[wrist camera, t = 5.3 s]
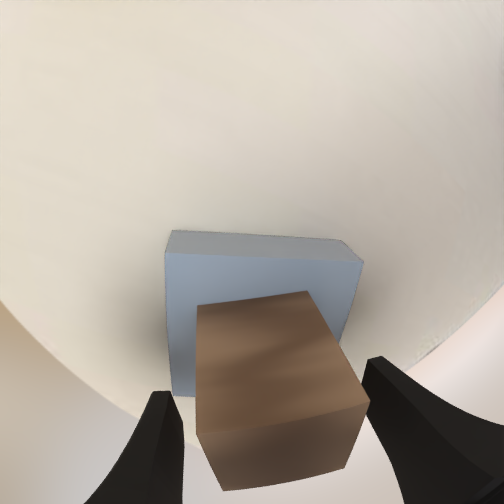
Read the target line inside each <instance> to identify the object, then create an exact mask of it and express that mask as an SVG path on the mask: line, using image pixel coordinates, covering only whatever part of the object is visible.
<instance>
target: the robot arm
mask: <svg viewBox="0 0 504 504" xmlns="http://www.w3.org/2000/svg"><path fill="white" fill-rule="evenodd" d="M361 385H362V387H363V389H364V390H365V392H366V394H367V396H368V398H369V399H370V403H369V406H368V409H367V412H366V415H367V417H368V419H369V421H370V423H371V425H372V427H373V429H374V431H375V433H376V435H377V436H378V438H379V440H380V442H381V444H382V446H383V448H384V449H385V451H386V453H387V455H388V457H389V460H390V462H391V464H392V466H393V469H394V472H395V475H396V478H397V480H398V484H399V487H400V490H401V493H402V496H403V500H404V504H504V425H500V424H496V423H493V422H490V421H487V420H484V419H481V418H479V417H476V416H474V415H472V414H469V413H467V412H465V411H463V410H461V409H459V408H457V407H455V406H453V405H451V404H449V403H448V402H446V401H444V400H443V399H441V398H440V397H438V396H436V395H435V394H433V393H432V392H430V391H429V390H427V389H426V388H424V387H423V386H421V385H420V384H418V383H417V382H416V381H414V380H413V379H412V378H410V377H409V376H408V375H406V374H405V373H404V372H402V371H401V370H400V369H398V368H397V367H396V366H394V365H393V364H392V363H391V362H389V361H388V360H387V359H385V358H384V357H383V356H379V357H375V358H371V359H368V360H367V364H366V368H365V372H364V376H363V379H362V383H361ZM183 466H184V431H183V421H182V419H181V417H180V414H179V412H178V409H177V407H176V404H175V402H174V399H173V397H172V394H171V392H170V391H153V392H152V394H151V396H150V398H149V401H148V403H147V405H146V407H145V410H144V412H143V414H142V416H141V418H140V420H139V422H138V424H137V426H136V428H135V430H134V432H133V434H132V436H131V438H130V440H129V442H128V443H127V445H126V447H125V448H124V450H123V452H122V454H121V455H120V457H119V459H118V461H117V462H116V463H115V465H114V466H113V468H112V470H111V471H110V472H109V474H108V475H107V476H106V478H105V479H104V481H103V482H102V483H101V484H100V486H99V487H98V488H97V489H96V491H95V492H94V493H93V494H92V495H91V497H90V498H89V499H88V500H87V501H86V502H85V503H84V504H182V490H183Z"/></svg>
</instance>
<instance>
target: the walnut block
mask: <svg viewBox="0 0 504 504" xmlns="http://www.w3.org/2000/svg"><path fill="white" fill-rule="evenodd" d="M369 403H370V399H369V398H368V396H367V394H366V392H365V390H364V389H363V387H362V385H361V383H360V381H359V380H358V378H357V376H356V374H355V372H354V371H353V369H352V367H351V365H350V363H349V362H348V360H347V358H346V356H345V355H344V353H343V351H342V349H341V348H340V346H339V344H338V342H337V341H336V339H335V337H334V335H333V334H332V332H331V330H330V328H329V327H328V325H327V323H326V321H325V320H324V318H323V316H322V315H321V313H320V311H319V309H318V308H317V306H316V304H315V303H314V301H313V299H312V297H311V296H310V294H309V292H308V291H307V290H306V291H300V292H293V293H287V294H280V295H273V296H266V297H259V298H251V299H244V300H236V301H228V302H220V303H212V304H204V305H197V323H196V435H197V437H198V439H199V442H200V444H201V446H202V448H203V451H204V453H205V455H206V457H207V459H208V461H209V464H210V466H211V468H212V470H213V472H214V474H215V476H216V478H217V480H218V482H219V484H220V486H221V488H222V490H223V491H230V490H240V489H249V488H256V487H263V486H270V485H275V484H281V483H286V482H291V481H296V480H301V479H305V478H309V477H314V476H318V475H321V474H325V473H329V472H332V471H336V470H339V469H343V468H345V465H346V462H347V460H348V458H349V456H350V453H351V451H352V449H353V446H354V444H355V442H356V439H357V436H358V434H359V431H360V428H361V426H362V423H363V420H364V418H365V415H366V412H367V409H368V406H369Z"/></svg>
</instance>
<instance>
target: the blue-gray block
mask: <svg viewBox="0 0 504 504" xmlns="http://www.w3.org/2000/svg"><path fill="white" fill-rule="evenodd" d="M363 263H364V261H363V260H361V259H360V258H359V257H358V256H357V255H356V254H355V253H354V252H353V251H352V250H351V249H350V248H349V247H348V246H346V245H345V244H344V243H343V242H342V241H341V240H331V239H317V238H302V237H287V236H271V235H255V234H238V233H220V232H201V231H181V230H172V232H171V235H170V239H169V242H168V245H167V248H166V251H165V288H166V314H167V333H168V348H169V361H170V372H171V383H172V392H173V396H185V397H196V323H197V305H204V304H212V303H220V302H228V301H236V300H244V299H251V298H259V297H266V296H273V295H280V294H287V293H293V292H300V291H306V290H307V291H308V292H309V294H310V296H311V297H312V299H313V301H314V303H315V304H316V306H317V308H318V309H319V311H320V313H321V315H322V316H323V318H324V320H325V321H326V323H327V325H328V327H329V328H330V330H331V332H332V334H333V335H334V337H335V339H336V341H337V342H338V344H339V341H340V338H341V335H342V332H343V329H344V326H345V323H346V320H347V317H348V314H349V311H350V308H351V305H352V301H353V298H354V295H355V291H356V288H357V285H358V281H359V278H360V274H361V271H362V267H363Z"/></svg>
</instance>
